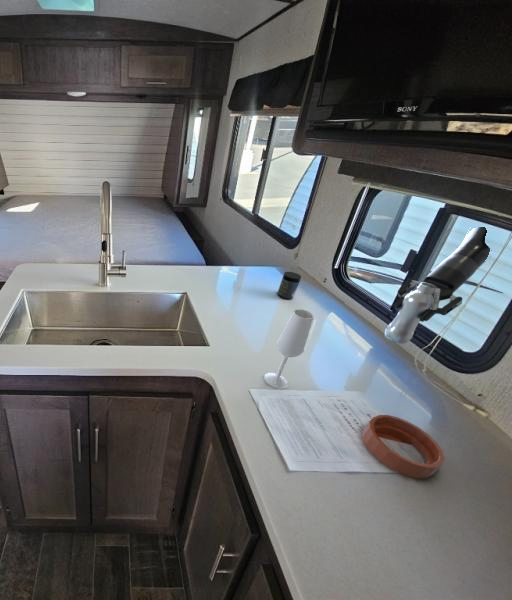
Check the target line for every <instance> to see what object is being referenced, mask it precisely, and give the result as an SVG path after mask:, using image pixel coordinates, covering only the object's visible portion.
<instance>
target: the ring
mask: <svg viewBox="0 0 512 600" xmlns="http://www.w3.org/2000/svg"><path fill="white" fill-rule="evenodd" d="M361 434H362V435H361V437H362V438H361V439H362V441H363V443H364V445H365V447H366V448H367V450H368V451H369V452H370V453H371V455H373V456H374V457H375V459H377V460H378V461H379V462H380V463H382V464H383V465H384V466H386V467H387V468H389V469H391V470H392V471H394V472H396V473H398V474H401V475H403V476H406V477H410V478H414V479H427V478H429V477H432V476H433V475H434V474H435V473H436V472H437V471H438V470H439V469H440V468H441V467H442V466H443V464H444V463H445V454H444V451H443V450H442V448H441V446H440V445H439V443H438V442H437V440H435V439H434V438H433V437H432V436H431V435H430V434H429V433H428V432H426V431H424V430H423V429H422V428H421V427H419V426H417V425H415V424H413V423H412V422H410V421H408V420H406V419H403V418H400V417H398V416H395V415H389V414H376V415H375V416H372V418H370V420H369V421H368V423H367V424H366V426H365V427H364V429H363V430H362V432H361ZM382 439H384V440H388V441H394V442H397V443H401V444H406V445H410V446H413V447H414V448H415V450H417V451H418V453H419V454H420V455H421V457H422V459H423V463H421V462H417V461H413V460H411V459H409V458H407V457H404V456H402V455H400V454H399V453H397V452H396V451H394V450H393V449H391V448H390V447H389V446H388V445H386V444H385V442H384V441H382Z"/></svg>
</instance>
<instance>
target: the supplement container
mask: <svg viewBox="0 0 512 600" xmlns="http://www.w3.org/2000/svg"><path fill="white" fill-rule="evenodd" d="M301 280H302V275H301V274H299V273H296V272H294V271H284V272H283V276H282V278H281V281H280V284H279V287H278V290H277V296H278V297H280V298H281V299H282V300H293V299H294V298H295V295H296V293H297V289H298V287H299V285H300V282H301Z"/></svg>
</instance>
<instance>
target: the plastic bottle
mask: <svg viewBox="0 0 512 600" xmlns="http://www.w3.org/2000/svg"><path fill="white" fill-rule="evenodd" d="M436 288H437V287H436V286H435V285H433V284H430V283H426V282H421V283H420V284H419V286H418V287H417V286H416V289H417V290H416V291H413V292H411V293H409V294H408V295H406V296H405V298H404V301H403V303H402V306H401V308H400V309H399V310H398V313H397V314H396V316H395V317H394V318H393V319H392V321H390V323H389V324H388V325H387V326H386V327H385V329H384V332H383V333H384V337H385V338H386V339H388V340H389V341H390V342H393V343H397V344H403V345H404V344H406V343H409V342H410V341H411V340H412V338H413V336H414V334H415V331H416V329H417V327H418V325H419V323H420V322H421V321H420V317H421V316H422V315H423V314H424V313H425V312H426V311H427V310H429V309H431V308H432V306H433V305H434V299H433V296H432V294H433V293H434V292H435V290H436Z"/></svg>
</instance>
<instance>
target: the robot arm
mask: <svg viewBox="0 0 512 600" xmlns="http://www.w3.org/2000/svg"><path fill="white" fill-rule="evenodd" d="M468 231H469V230H468ZM467 233H468V232H467ZM467 233H466V235H465V237H464V239H463V240H462V243H461V244H460V245H459V246H458V247H457V248H456V249H455V250H454V251H453V252H452V253H451V254H450V255H449V256H448V257H446V258H445V259H444V260H442V261H441V262H440V263H439V264H437V265H436V267H435V268H434V269H432V271H431V272H429V274H428V275H426V277H425V278H423V279H422V280H420V281H417V280H413V278H412V277H408V278H407V279H405V281H404V282H403V284H402V285H401V286H400V288H399V289H397V297H398V298H399V299H398V300H397V301H396V302H394V304H393V306H394V310H395V311H398V312H399V310H400V308H401V306H402V303H403V301H404V298H405V296H406V295H408V294H409V293H411V292H413V291H416V290H417V287H418V286H419V284H420V283H421V282H426V283H430V284H433V285H435V286H436V287H437V288H436V290H435V292H434V293H433V294H432V296H433V299H434V305H433V306H432V308H431V309H429V310H427V311H426V312H425V313H424V314H423V315H422V316H421V317H420V322H422V323H424V322H428V321H429V320H430V319H431V318H432V317H434V316H435V315H441V316H446V315H448V314H449V313H451V312H452V311H453V310H455V309H456V308H458V307H459V306H460V305H462V304H463V297H462V296H456V295H454V293H455V292H456V291H457V290H458V289H459V288H460V287H462V285H464V284H465V283H466V282H467V281H468V280H469V279H470V278H471V277H472V276H473V275H474V274H475V273H476V271H477V270H479V268H480V267H481V266H483V264H485V263H486V261H485V260H486V259H487V257H488V255H489V252H490V249H491V248H490V246H489V245H488V244H486V243H485V236H486V233H487V230H486V228H485V227H476V228H473V229H472V230H471V231H469V233H468V234H467ZM413 287H416V288H414V289H412V290H410V291H409V289H410V288H413ZM408 291H409V292H408ZM446 300H449V302H448V303H447V304H445V305H443V306H442V307H439V306H440V302H441V301H446Z"/></svg>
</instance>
